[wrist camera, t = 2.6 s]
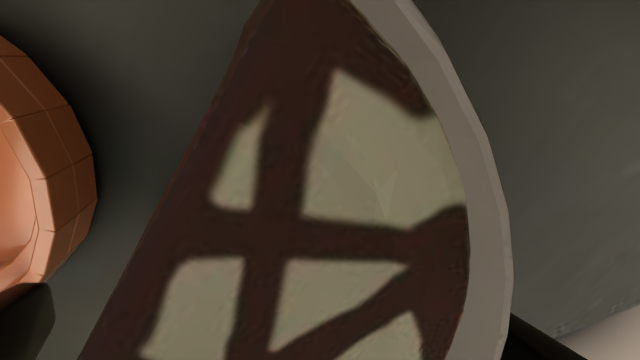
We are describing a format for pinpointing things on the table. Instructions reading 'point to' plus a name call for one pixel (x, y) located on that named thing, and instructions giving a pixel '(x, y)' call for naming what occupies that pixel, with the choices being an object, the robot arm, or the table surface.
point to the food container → (324, 206)
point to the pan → (39, 174)
